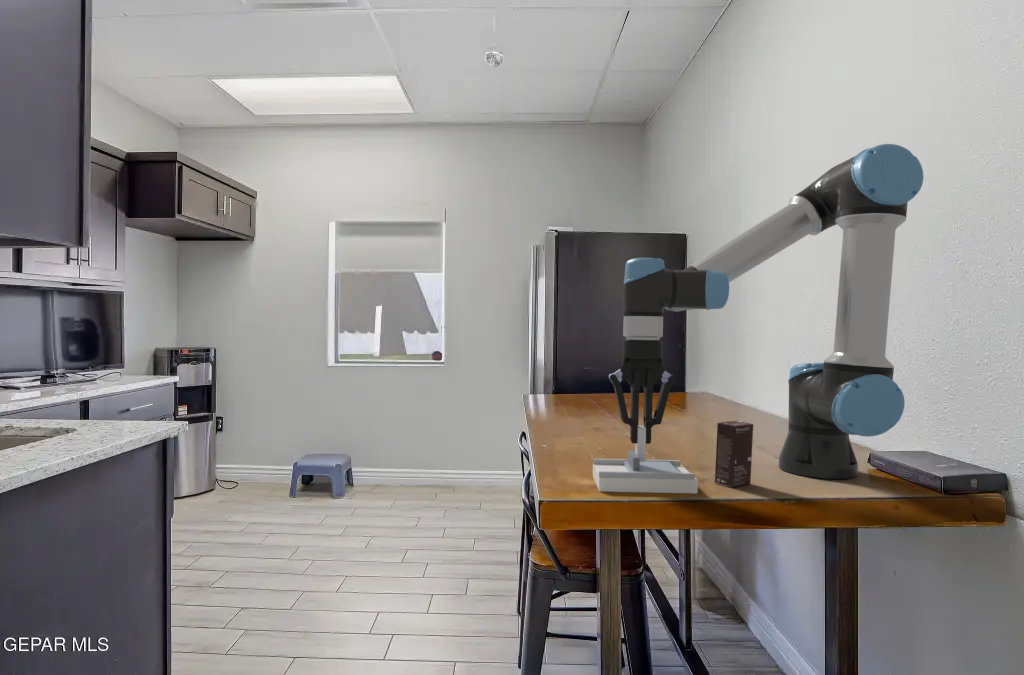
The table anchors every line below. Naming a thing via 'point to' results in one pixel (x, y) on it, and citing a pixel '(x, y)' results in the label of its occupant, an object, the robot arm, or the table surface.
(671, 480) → the socket plate
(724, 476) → the box
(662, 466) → the panel
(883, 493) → the table surface
